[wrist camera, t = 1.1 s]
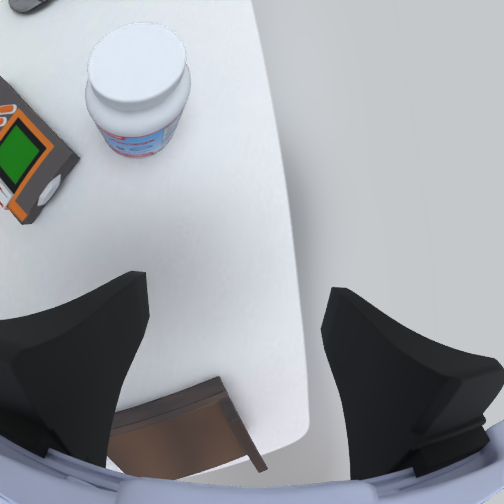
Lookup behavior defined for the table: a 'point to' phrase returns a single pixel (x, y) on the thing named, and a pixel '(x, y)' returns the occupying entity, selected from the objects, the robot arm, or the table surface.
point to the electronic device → (28, 157)
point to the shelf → (181, 434)
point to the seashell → (24, 4)
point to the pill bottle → (138, 87)
